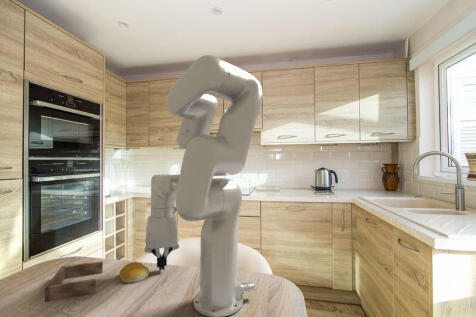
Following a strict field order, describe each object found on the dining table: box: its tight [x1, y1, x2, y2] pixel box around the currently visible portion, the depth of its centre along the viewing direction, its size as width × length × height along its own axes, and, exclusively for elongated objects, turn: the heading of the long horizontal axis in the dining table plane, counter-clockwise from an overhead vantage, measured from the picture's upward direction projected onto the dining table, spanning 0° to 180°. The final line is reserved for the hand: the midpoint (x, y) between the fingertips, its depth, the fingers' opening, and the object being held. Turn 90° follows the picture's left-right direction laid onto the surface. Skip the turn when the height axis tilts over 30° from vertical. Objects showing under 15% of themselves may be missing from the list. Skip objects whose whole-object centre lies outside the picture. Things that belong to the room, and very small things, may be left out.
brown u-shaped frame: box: [44, 260, 104, 303], centre depth 69 cm, size 11×14×4 cm
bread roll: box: [118, 261, 150, 284], centre depth 74 cm, size 8×9×4 cm
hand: (161, 268), depth 78 cm, fingers closed
